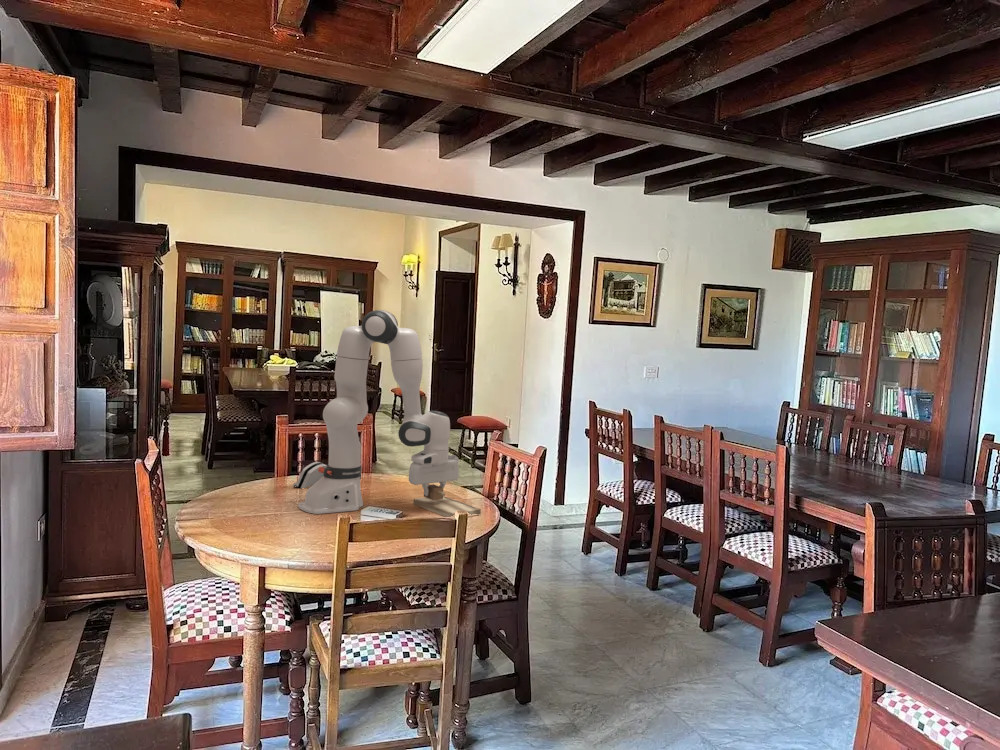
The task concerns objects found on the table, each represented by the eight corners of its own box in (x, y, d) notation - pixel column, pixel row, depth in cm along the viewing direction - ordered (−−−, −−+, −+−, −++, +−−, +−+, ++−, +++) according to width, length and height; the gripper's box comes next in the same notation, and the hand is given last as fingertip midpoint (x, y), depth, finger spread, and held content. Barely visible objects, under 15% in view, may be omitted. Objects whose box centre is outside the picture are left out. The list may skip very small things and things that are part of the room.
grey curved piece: (313, 479, 280) (321, 457, 278) (323, 484, 279) (331, 462, 277) (291, 487, 264) (300, 464, 262) (301, 492, 263) (310, 469, 261)
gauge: (421, 495, 244) (422, 484, 244) (430, 494, 247) (431, 483, 247) (438, 502, 237) (439, 490, 237) (447, 500, 239) (448, 489, 239)
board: (453, 519, 229) (453, 513, 229) (413, 504, 247) (413, 498, 247) (480, 514, 237) (480, 509, 237) (439, 500, 255) (440, 494, 255)
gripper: (453, 452, 251) (450, 489, 252) (407, 456, 237) (404, 495, 238) (464, 456, 246) (461, 493, 247) (417, 460, 233) (415, 499, 233)
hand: (433, 494), depth 242 cm, fingers closed on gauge, 4 cm apart
